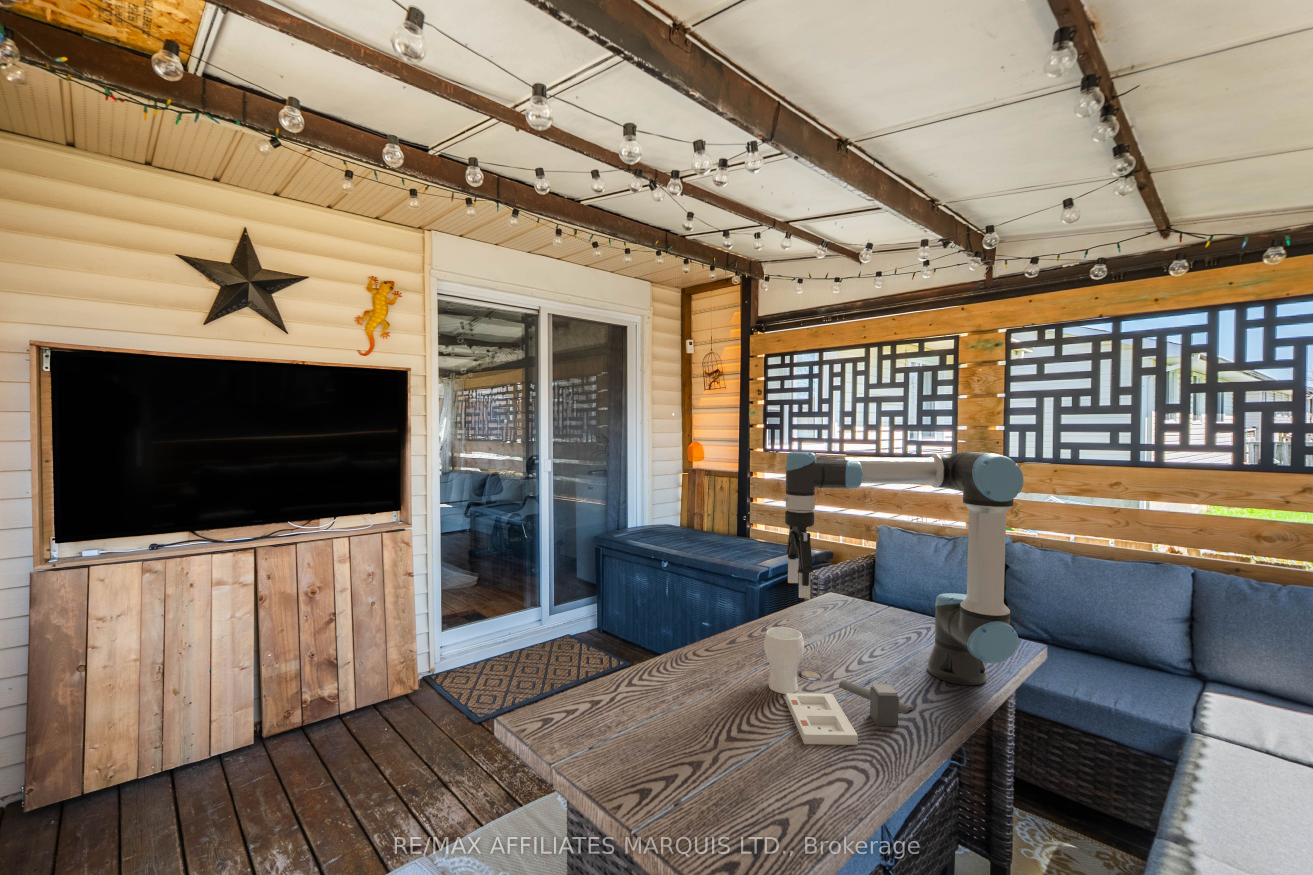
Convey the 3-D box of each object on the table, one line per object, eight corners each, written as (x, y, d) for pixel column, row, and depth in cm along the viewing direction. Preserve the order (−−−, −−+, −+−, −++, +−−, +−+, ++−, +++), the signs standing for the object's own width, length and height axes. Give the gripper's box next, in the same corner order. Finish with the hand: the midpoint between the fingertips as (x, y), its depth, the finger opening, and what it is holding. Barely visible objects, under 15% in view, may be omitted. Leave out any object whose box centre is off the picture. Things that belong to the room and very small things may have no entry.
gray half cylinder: (846, 684, 164) (846, 677, 164) (914, 711, 149) (914, 704, 149) (837, 688, 162) (837, 682, 162) (905, 716, 147) (905, 709, 147)
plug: (890, 715, 146) (890, 683, 146) (898, 726, 141) (898, 693, 141) (869, 715, 146) (870, 683, 146) (877, 725, 141) (877, 692, 141)
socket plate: (832, 701, 153) (832, 693, 153) (857, 744, 133) (857, 734, 133) (785, 701, 153) (785, 692, 153) (804, 743, 133) (804, 733, 133)
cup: (804, 698, 154) (805, 641, 154) (763, 694, 157) (763, 638, 156) (802, 680, 165) (803, 627, 164) (763, 677, 167) (764, 624, 166)
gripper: (776, 503, 168) (775, 576, 169) (795, 518, 143) (794, 604, 144) (803, 503, 168) (802, 577, 169) (826, 518, 143) (825, 604, 144)
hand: (798, 589), depth 156 cm, fingers open, 13 cm apart
